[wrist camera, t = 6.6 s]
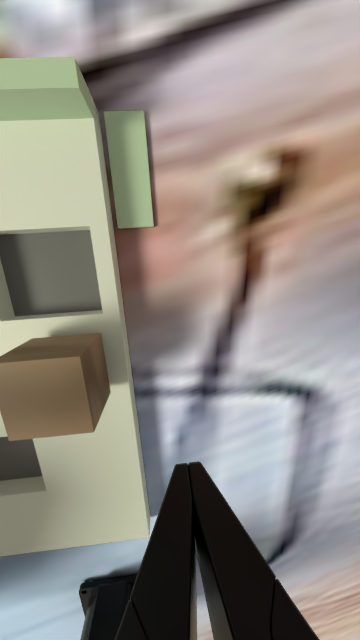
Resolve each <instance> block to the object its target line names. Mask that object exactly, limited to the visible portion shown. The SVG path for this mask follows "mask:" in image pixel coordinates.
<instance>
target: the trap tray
mask: <svg viewBox="0 0 360 640" xmlns="http://www.w3.org/2000/svg"><path fill="white" fill-rule="evenodd" d="M104 119H105V128H106V136H107V144H108V152H109V160H110V168H111V176H112V185H113V193H114V201H115V209H116V217H117V225H118V229H124V228H142V227H154V223H153V211H152V199H151V188H150V176H149V164H148V152H147V141H146V129H145V117H144V110H135V111H104ZM93 333H101V334H102V340H103V347H104V353H105V359H106V366H107V372H108V378H109V385H110V391H111V393H110V395H109V398H108V400H107V402H106V405H105V407H104V410H103V412H102V414H101V417H100V419H99V422H98V424H97V426H96V429H95V431H94V432H93V433H83V434H73V435H64V436H54V437H44V438H34V439H25V440H15V441H9V439H8V436H7V432H6V429H5V426H4V422H3V419H2V416H1V413H0V557H1V556H9V555H17V554H25V553H32V552H40V551H48V550H56V549H64V548H71V547H79V546H87V545H95V544H103V543H111V542H118V541H126V540H134V539H142V538H149V533H150V511H149V503H148V495H147V487H146V480H145V472H144V464H143V456H142V448H141V440H140V432H139V425H138V417H137V409H136V401H135V393H134V385H133V377H132V370H131V362H130V354H129V346H128V338H127V330H126V322H125V314H124V307H123V299H122V291H121V283H120V275H119V267H118V259H117V252H116V244H115V236H114V228H113V220H112V212H111V204H110V196H109V189H108V181H107V173H106V165H105V157H104V149H103V141H102V134H101V126H100V118H99V113H98V110H97V108H96V106H95V104H94V101H93V99H92V97H91V94H90V92H89V90H88V87H87V85H86V83H85V80H84V78H83V76H82V73H81V71H80V69H79V67H78V64H77V62H76V60H75V57H58V58H0V356H2V355H3V354H5V353H7V352H9V351H11V350H12V349H14V348H16V347H18V346H19V345H21V344H23V343H25V342H27V341H28V340H30V339H32V338H43V337H56V336H68V335H81V334H93Z"/></svg>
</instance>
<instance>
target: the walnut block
mask: <svg viewBox="0 0 360 640" xmlns="http://www.w3.org/2000/svg"><path fill="white" fill-rule="evenodd" d="M110 393H111V391H110V385H109V378H108V372H107V366H106V359H105V353H104V347H103V340H102V334H101V333H93V334H81V335H68V336H56V337H43V338H32V339H30V340H28V341H27V342H25V343H23V344H21V345H19V346H18V347H16V348H14V349H12V350H11V351H9V352H7V353H5V354H3V355H2V356H0V413H1V416H2V419H3V422H4V426H5V429H6V432H7V436H8V439H9V441H15V440H25V439H34V438H44V437H54V436H64V435H73V434H83V433H93V432H94V431H95V429H96V426H97V424H98V422H99V419H100V417H101V414H102V412H103V410H104V407H105V405H106V402H107V400H108V398H109V395H110Z"/></svg>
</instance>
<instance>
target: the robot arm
mask: <svg viewBox="0 0 360 640" xmlns="http://www.w3.org/2000/svg"><path fill="white" fill-rule="evenodd" d="M195 543H196V548H195ZM196 550H197V556H198V562H199V567H200V572H201V577H202V582H203V587H204V592H205V597H206V602H207V607H208V612H209V617H210V622H211V628H212V633H213V638H214V640H319V638H318V637H317V635H316V634H315V633H314V631H313V630H312V629H311V627H310V626H309V624H308V623H307V621H306V620H305V618H304V617H303V616H302V614H301V613H300V611H299V610H298V608H297V607H296V605H295V604H294V603H293V601H292V600H291V598H290V597H289V595H288V594H287V592H286V591H285V589H284V588H283V586H282V585H281V583H280V581H279V580H278V579H276V576H275V574H274V573H273V571H272V570H271V568H270V567H269V565H268V564H267V562H266V561H265V559H264V557H263V556H262V554H261V553H260V551H259V550H258V548H257V547H256V545H255V544H254V542H253V541H252V539H251V538H250V536H249V535H248V533H247V532H246V530H245V529H244V527H243V526H242V524H241V523H240V521H239V520H238V518H237V517H236V515H235V514H234V512H233V510H232V509H231V507H230V506H229V504H228V503H227V501H226V500H225V498H224V497H223V495H222V494H221V492H220V491H219V489H218V488H217V486H216V485H215V483H214V482H213V480H212V479H211V477H210V476H209V474H208V473H207V471H206V470H205V468H204V467H203V465H202V464H201V462H190V463H189V464H187V463H181V464H176V465H175V467H174V470H173V473H172V476H171V479H170V482H169V484H168V487H167V490H166V493H165V496H164V499H163V502H162V505H161V508H160V511H159V514H158V517H157V519H156V522H155V525H154V528H153V531H152V534H151V537H150V540H149V543H148V546H147V549H146V552H145V554H144V557H143V560H142V563H141V566H140V569H139V572H138V575H137V576H129V577H122V578H115V579H107V580H100V581H93V582H85V583H82V584H81V585H80V589H79V595H80V599H81V603H82V607H83V611H84V614H85V622H84V626H83V631H82V635H81V640H197V600H196Z"/></svg>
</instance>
